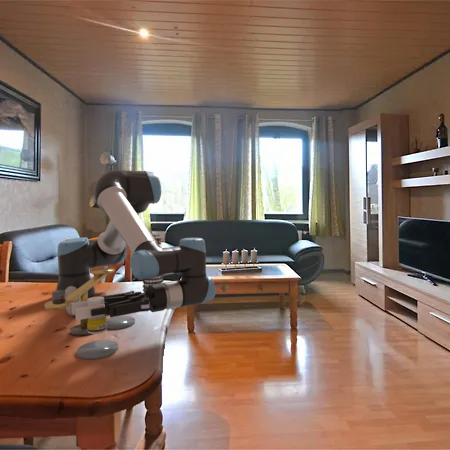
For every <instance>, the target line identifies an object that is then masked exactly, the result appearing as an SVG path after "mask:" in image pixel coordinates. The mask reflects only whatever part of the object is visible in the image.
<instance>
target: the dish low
mask: <svg viewBox="0 0 450 450" xmlns="http://www.w3.org/2000/svg"><path fill="white" fill-rule="evenodd" d="M116 351H117V352H118V351H119V343H118V342H116V341H115V340H111V339H100V340H94V341H89V342H87V343H83V344H82V345H80V346H79V347H77V349H76V356H77V358H79V359H81V358H82V359H83V360H90V361H91V360H99V359H103V358H107V357H110V356H112V355H115V353H116ZM111 354H112V355H111Z"/></svg>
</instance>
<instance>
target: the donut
mask: <svg viewBox="0 0 450 450" xmlns="http://www.w3.org/2000/svg"><path fill="white" fill-rule="evenodd" d="M75 290H77V289H76V288H75V287H73V286H70V287H68V288H67V289H66V290H65V298H66V297H67V296H69V295H70V294H71V293H73V292H74V291H75ZM76 302H79V298H77V299H76V300H75V301H73V303H76ZM65 310H66V313H68V315H69V316H71V317H74V316H75V314H73V315H72V306H70V307H67V308H65ZM75 317H76V316H75Z"/></svg>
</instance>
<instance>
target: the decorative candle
mask: <svg viewBox="0 0 450 450" xmlns="http://www.w3.org/2000/svg"><path fill="white" fill-rule="evenodd" d="M150 233H151V234H152V236H153V237H154V239H155V240H156V242H157V243H158V244H159V246H160V247H161V248H162V247H163V246H162V235H161V234H159V233H158V232H150ZM142 283H143V284H142V291H143V293H145V292H146V289H147V287H148V286H149V285H152V284H159V283H160V284H162V283H164V276H159V277H155V278H147V279H142Z"/></svg>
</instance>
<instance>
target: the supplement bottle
mask: <svg viewBox="0 0 450 450" xmlns="http://www.w3.org/2000/svg"><path fill="white" fill-rule="evenodd" d="M87 304H88V306H93V305H99V304H104V297H100V296H93V297H91V296H90V297H88V303H87ZM104 307H105V304H104ZM107 319H108V317H107V316H106V315H105V314H104V315H103V316H98V317H92V318H87V329H88V333H90V335H96V334H98V335H99V334H102V333H104V332H107V330H108V329H107Z"/></svg>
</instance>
